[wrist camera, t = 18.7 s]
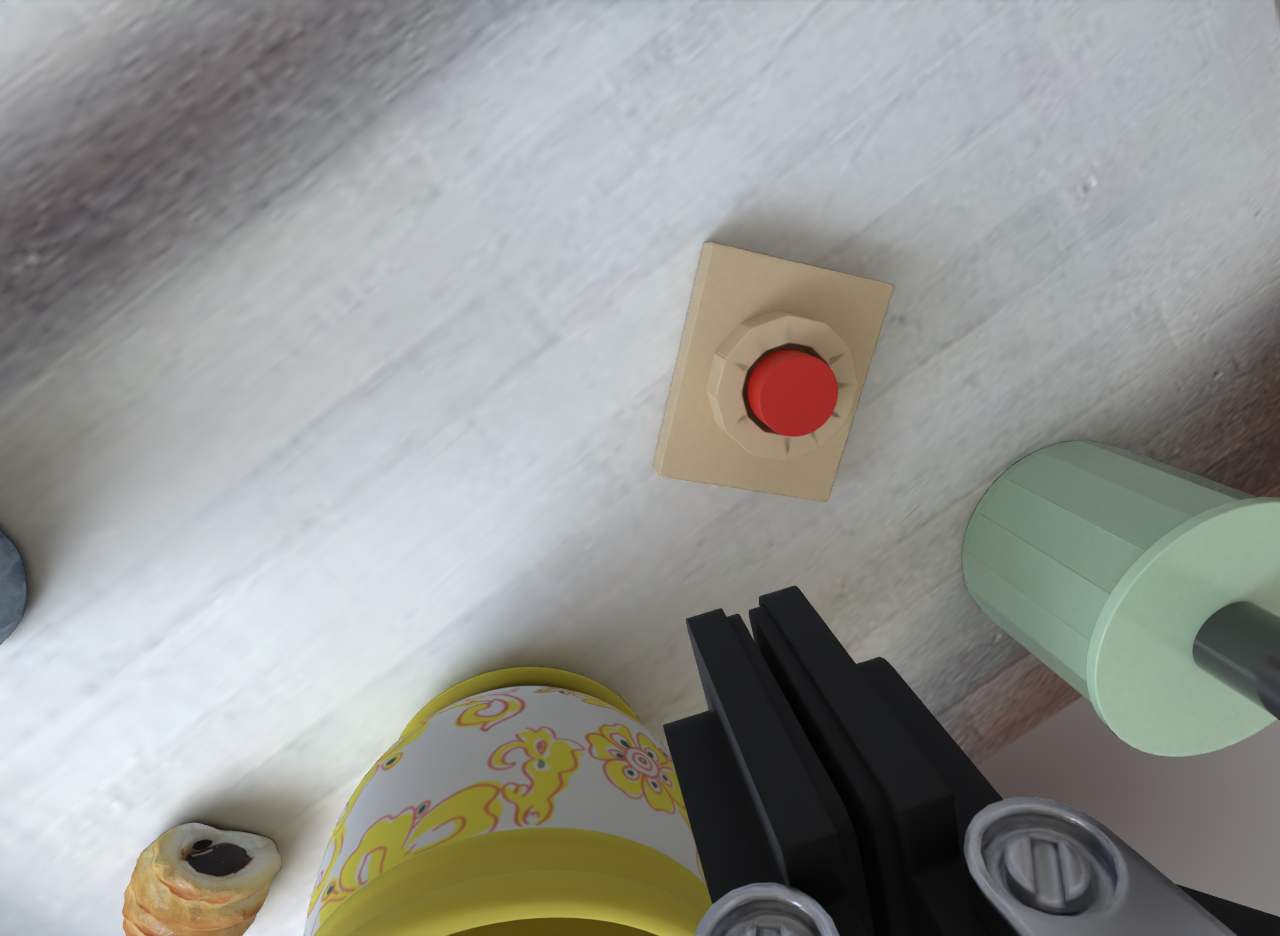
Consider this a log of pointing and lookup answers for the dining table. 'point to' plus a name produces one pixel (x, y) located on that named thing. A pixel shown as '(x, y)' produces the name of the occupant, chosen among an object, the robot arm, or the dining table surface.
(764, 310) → the switch block
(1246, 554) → the lid
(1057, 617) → the mint green cup
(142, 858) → the pastry
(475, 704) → the flowerpot
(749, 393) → the button
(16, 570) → the moka pot
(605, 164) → the dining table surface
